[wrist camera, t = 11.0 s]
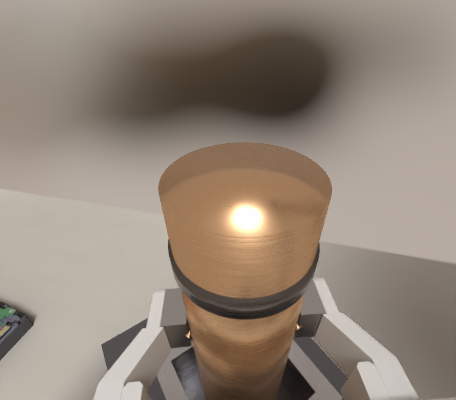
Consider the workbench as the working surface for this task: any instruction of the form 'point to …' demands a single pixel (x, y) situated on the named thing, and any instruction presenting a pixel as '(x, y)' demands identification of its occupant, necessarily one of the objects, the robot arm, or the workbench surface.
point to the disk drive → (11, 327)
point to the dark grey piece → (192, 386)
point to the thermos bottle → (243, 258)
